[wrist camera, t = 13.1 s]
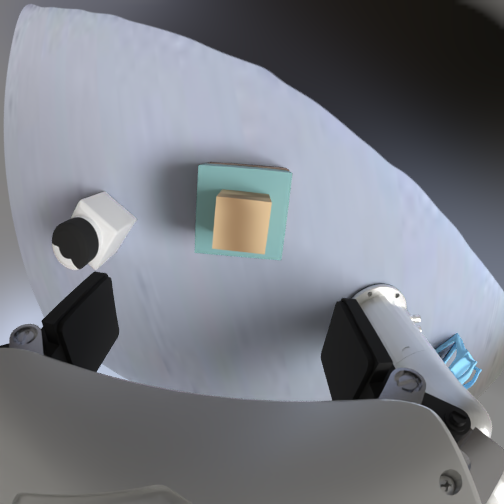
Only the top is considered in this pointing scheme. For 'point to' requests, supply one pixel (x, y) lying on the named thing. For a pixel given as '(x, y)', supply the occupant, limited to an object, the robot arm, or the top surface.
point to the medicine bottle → (92, 232)
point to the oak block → (241, 221)
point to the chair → (460, 361)
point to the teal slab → (246, 180)
